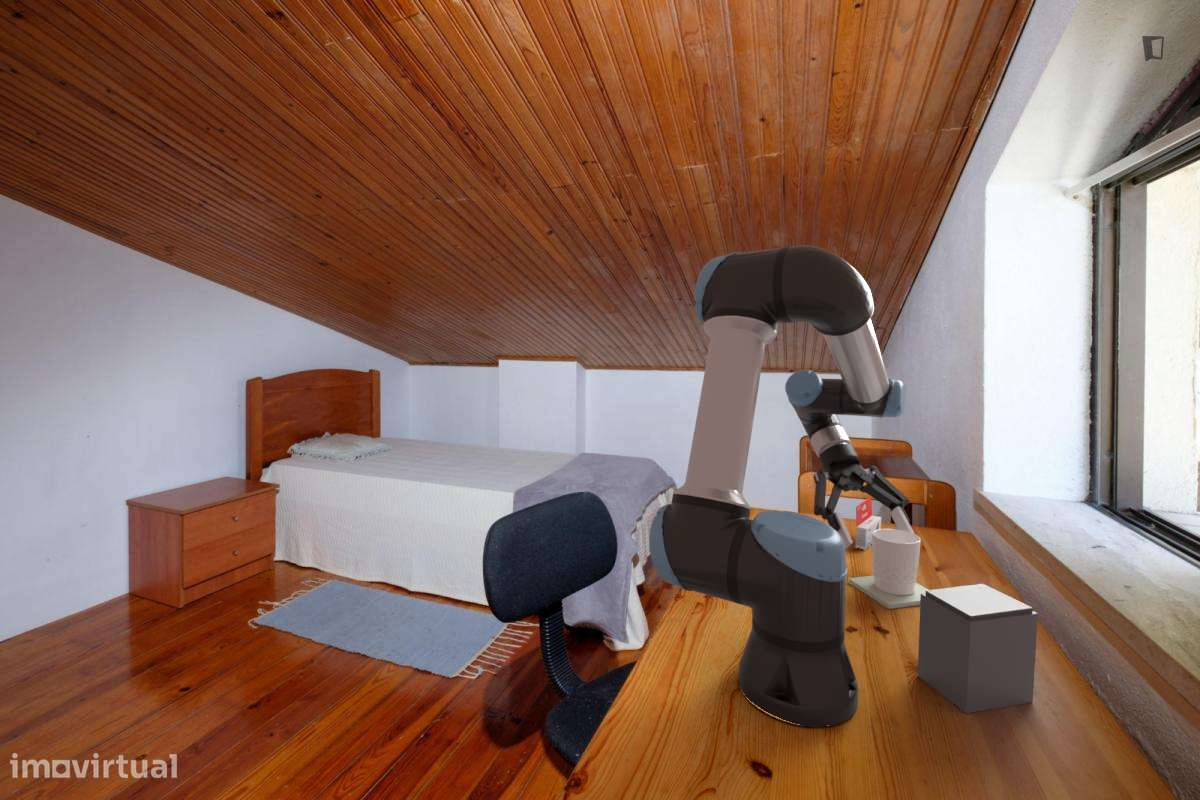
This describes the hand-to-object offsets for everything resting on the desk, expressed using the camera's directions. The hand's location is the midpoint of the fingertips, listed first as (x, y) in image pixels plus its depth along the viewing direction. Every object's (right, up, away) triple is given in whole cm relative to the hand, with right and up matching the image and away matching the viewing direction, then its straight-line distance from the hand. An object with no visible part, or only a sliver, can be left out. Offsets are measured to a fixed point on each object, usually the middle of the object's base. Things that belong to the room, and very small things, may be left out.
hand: (879, 542), depth 105 cm
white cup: (+1, -7, -4) cm, 9 cm away
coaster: (0, -8, -4) cm, 9 cm away
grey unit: (-4, -11, -32) cm, 34 cm away
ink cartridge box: (+8, -6, +21) cm, 23 cm away
